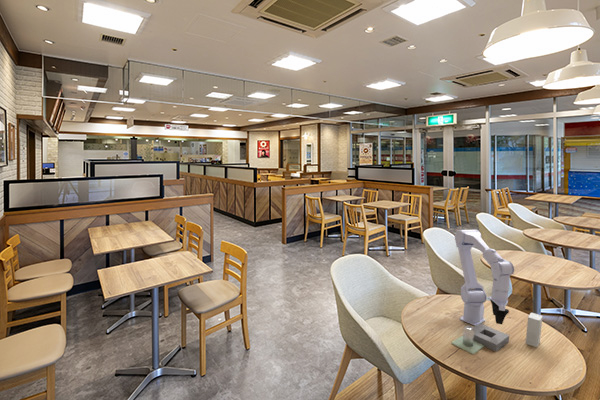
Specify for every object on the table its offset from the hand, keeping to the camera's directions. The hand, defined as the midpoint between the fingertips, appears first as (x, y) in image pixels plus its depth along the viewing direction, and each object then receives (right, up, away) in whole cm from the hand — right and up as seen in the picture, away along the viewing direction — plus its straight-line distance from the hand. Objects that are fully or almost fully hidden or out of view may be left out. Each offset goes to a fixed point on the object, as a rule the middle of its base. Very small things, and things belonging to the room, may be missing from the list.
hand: (497, 319), depth 134 cm
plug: (-14, -9, -3) cm, 17 cm away
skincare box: (+14, -10, -1) cm, 17 cm away
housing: (-4, -9, +1) cm, 10 cm away
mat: (-14, -10, -3) cm, 18 cm away
